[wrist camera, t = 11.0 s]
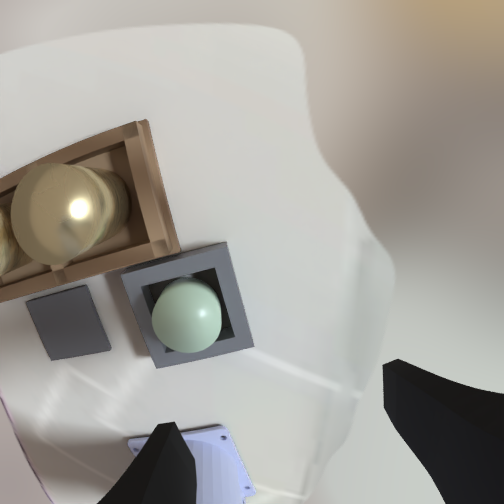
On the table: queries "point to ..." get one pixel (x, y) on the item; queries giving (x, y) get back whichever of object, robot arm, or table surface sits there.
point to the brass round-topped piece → (68, 210)
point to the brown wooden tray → (137, 228)
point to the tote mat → (68, 324)
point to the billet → (10, 244)
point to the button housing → (179, 266)
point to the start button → (187, 315)
